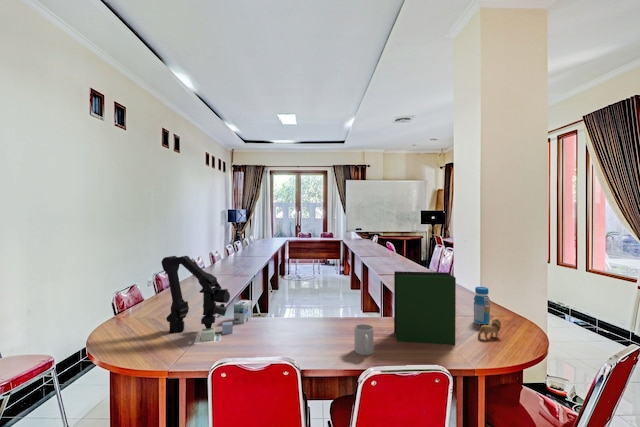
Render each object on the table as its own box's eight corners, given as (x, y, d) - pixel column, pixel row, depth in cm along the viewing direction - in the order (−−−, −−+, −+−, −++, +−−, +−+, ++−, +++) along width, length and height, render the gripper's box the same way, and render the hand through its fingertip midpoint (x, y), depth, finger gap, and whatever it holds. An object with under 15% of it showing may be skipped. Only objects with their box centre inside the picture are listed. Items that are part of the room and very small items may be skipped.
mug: (353, 347, 156) (353, 324, 156) (371, 347, 156) (371, 323, 156) (357, 359, 144) (357, 333, 144) (376, 358, 144) (377, 333, 144)
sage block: (201, 341, 162) (201, 333, 162) (202, 336, 168) (202, 328, 168) (214, 340, 163) (214, 332, 163) (214, 335, 169) (214, 327, 169)
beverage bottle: (473, 324, 189) (474, 288, 189) (473, 319, 197) (473, 285, 197) (490, 326, 186) (490, 290, 186) (489, 321, 194) (489, 286, 194)
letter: (193, 344, 159) (193, 343, 159) (196, 336, 169) (196, 335, 169) (220, 342, 162) (220, 341, 162) (221, 334, 172) (221, 333, 172)
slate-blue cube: (222, 335, 171) (222, 325, 171) (222, 331, 176) (222, 322, 176) (232, 334, 173) (232, 324, 173) (232, 330, 177) (232, 321, 177)
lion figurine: (494, 334, 174) (494, 316, 174) (503, 337, 169) (503, 319, 169) (474, 338, 167) (474, 320, 167) (484, 342, 163) (484, 323, 163)
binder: (396, 342, 162) (396, 276, 162) (393, 331, 177) (394, 270, 177) (455, 345, 159) (455, 277, 159) (447, 334, 174) (447, 272, 173)
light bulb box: (244, 324, 188) (244, 304, 188) (233, 323, 189) (233, 304, 189) (252, 318, 198) (252, 300, 198) (241, 317, 200) (241, 299, 200)
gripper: (225, 305, 164) (225, 337, 164) (226, 296, 182) (226, 325, 182) (201, 306, 161) (201, 339, 161) (204, 297, 179) (204, 326, 179)
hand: (209, 332), depth 171 cm, fingers closed
